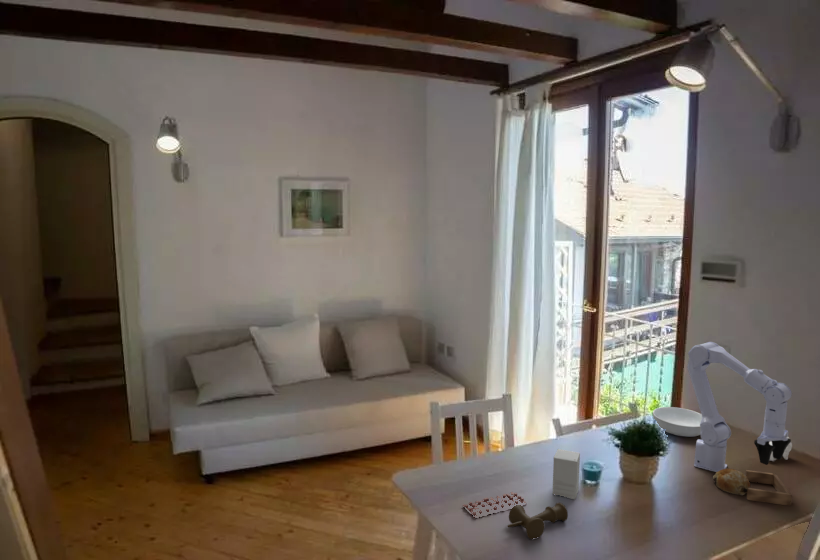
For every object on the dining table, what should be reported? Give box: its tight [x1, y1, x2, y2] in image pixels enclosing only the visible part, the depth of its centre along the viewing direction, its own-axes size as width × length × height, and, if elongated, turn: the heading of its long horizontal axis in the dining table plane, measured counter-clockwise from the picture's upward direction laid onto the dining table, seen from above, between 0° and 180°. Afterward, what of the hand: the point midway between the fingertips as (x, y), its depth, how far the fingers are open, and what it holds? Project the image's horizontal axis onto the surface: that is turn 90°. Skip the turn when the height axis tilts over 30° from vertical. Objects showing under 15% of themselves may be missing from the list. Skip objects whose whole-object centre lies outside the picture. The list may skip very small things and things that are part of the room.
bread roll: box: [712, 468, 751, 496], centre depth 182 cm, size 10×10×8 cm
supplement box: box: [552, 448, 581, 500], centre depth 177 cm, size 7×7×13 cm
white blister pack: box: [462, 491, 527, 516], centre depth 169 cm, size 7×19×2 cm, turn 116°
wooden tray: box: [744, 469, 793, 507], centre depth 180 cm, size 12×15×4 cm
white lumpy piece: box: [769, 436, 793, 462], centre depth 203 cm, size 6×8×12 cm
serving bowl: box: [652, 406, 702, 437], centre depth 227 cm, size 21×21×7 cm
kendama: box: [507, 502, 569, 540], centre depth 158 cm, size 6×10×20 cm
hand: (770, 461), depth 181 cm, fingers open, 7 cm apart
